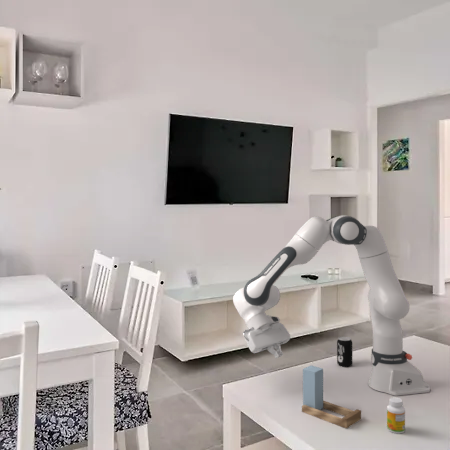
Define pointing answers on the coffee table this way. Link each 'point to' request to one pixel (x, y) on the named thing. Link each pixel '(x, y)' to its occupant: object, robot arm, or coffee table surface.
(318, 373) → the block
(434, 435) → the coffee table surface
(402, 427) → the supplement bottle
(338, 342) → the beverage can
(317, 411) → the brown flat open frame
